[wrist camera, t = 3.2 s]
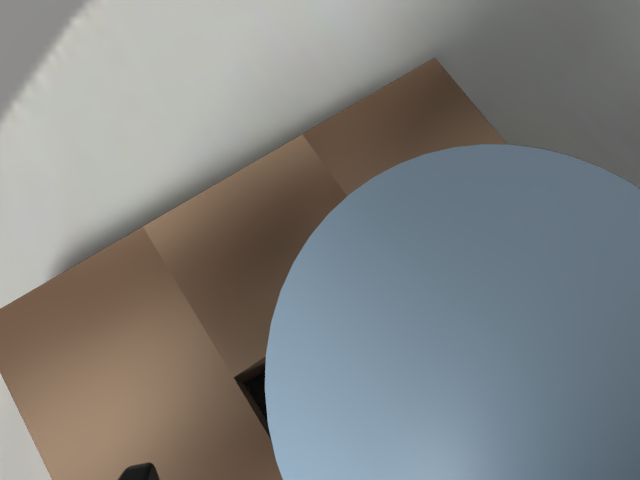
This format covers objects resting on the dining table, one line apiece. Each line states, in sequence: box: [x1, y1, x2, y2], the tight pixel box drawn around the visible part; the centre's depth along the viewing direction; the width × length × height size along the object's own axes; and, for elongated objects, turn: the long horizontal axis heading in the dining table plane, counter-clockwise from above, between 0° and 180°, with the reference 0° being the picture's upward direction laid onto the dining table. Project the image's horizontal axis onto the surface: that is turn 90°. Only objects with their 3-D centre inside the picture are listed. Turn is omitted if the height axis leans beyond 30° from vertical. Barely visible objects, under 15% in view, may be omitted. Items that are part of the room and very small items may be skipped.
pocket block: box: [0, 58, 507, 480], centre depth 17 cm, size 16×16×3 cm
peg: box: [265, 144, 640, 480], centre depth 12 cm, size 4×4×14 cm
